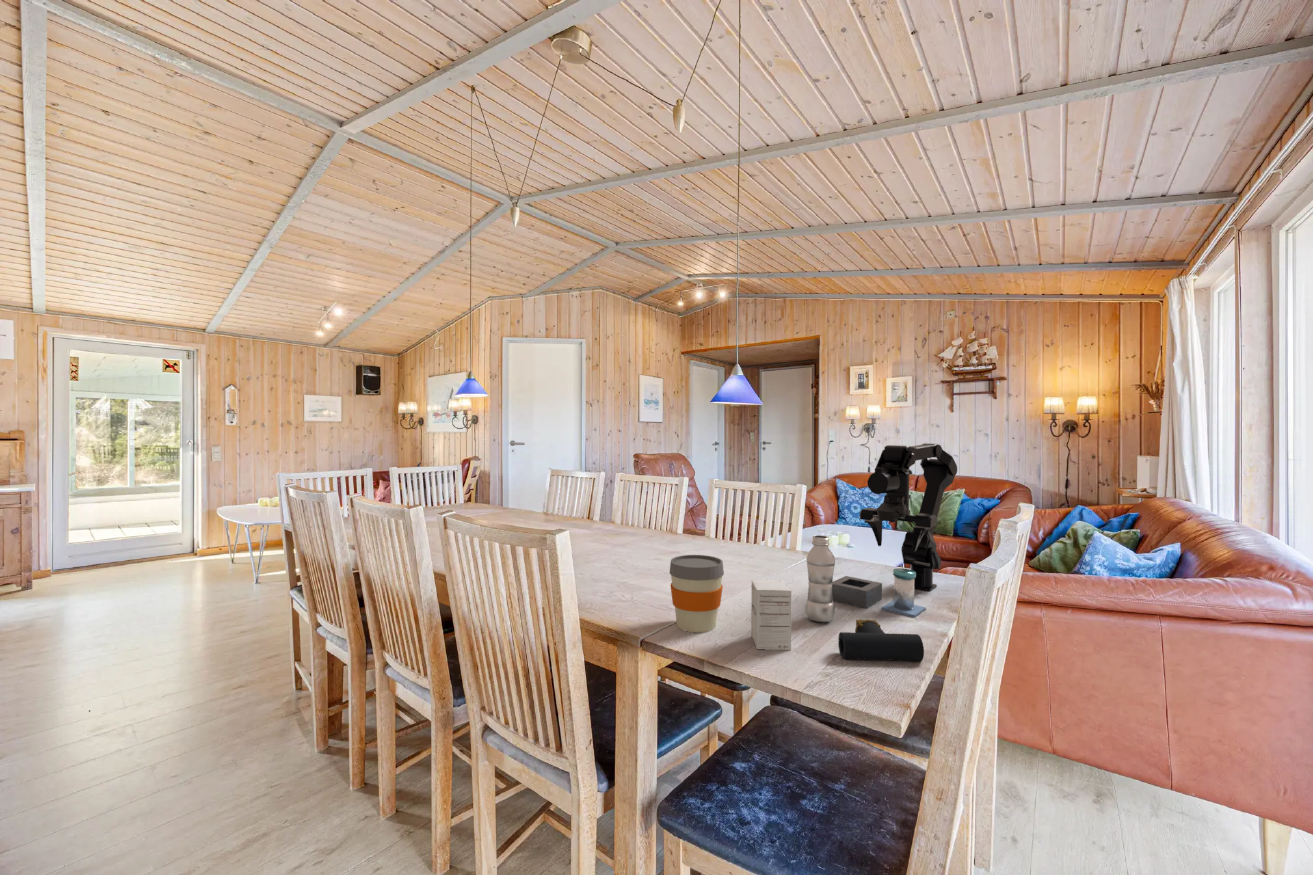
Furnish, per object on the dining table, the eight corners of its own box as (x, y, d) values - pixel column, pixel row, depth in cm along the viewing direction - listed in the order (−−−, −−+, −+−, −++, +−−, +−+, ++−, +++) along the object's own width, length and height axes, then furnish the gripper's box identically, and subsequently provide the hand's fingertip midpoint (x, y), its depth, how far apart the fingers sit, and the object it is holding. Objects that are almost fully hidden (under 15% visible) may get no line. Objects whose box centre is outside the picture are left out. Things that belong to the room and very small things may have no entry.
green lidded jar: (897, 602, 140) (897, 567, 140) (918, 607, 136) (918, 571, 136) (889, 607, 136) (890, 570, 136) (910, 612, 133) (911, 575, 132)
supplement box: (750, 636, 119) (750, 579, 118) (784, 636, 118) (784, 579, 118) (755, 650, 111) (756, 589, 111) (791, 650, 111) (792, 589, 111)
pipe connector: (830, 615, 117) (901, 617, 116) (830, 639, 118) (900, 641, 117) (845, 637, 106) (924, 639, 105) (845, 664, 106) (923, 666, 105)
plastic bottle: (810, 613, 133) (811, 532, 133) (838, 619, 129) (839, 536, 129) (801, 621, 128) (801, 537, 128) (829, 627, 124) (830, 540, 124)
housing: (845, 591, 151) (846, 575, 151) (881, 599, 144) (882, 583, 144) (829, 599, 144) (829, 583, 144) (866, 608, 137) (866, 591, 137)
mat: (893, 602, 142) (893, 600, 142) (925, 609, 136) (925, 607, 136) (881, 609, 136) (881, 607, 136) (914, 617, 131) (914, 615, 131)
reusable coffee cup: (701, 640, 116) (701, 571, 116) (658, 625, 125) (658, 561, 125) (734, 624, 126) (734, 560, 125) (692, 612, 134) (692, 552, 134)
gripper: (851, 491, 148) (850, 547, 148) (923, 497, 135) (923, 559, 135) (868, 487, 156) (867, 541, 156) (938, 493, 143) (937, 552, 143)
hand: (896, 548), depth 147 cm, fingers open, 9 cm apart
